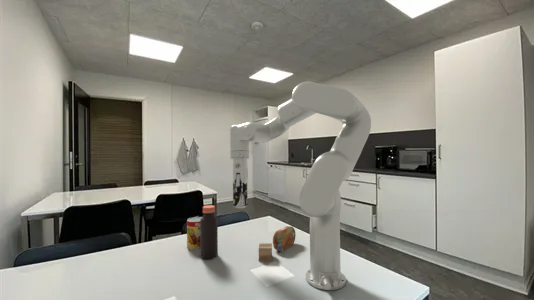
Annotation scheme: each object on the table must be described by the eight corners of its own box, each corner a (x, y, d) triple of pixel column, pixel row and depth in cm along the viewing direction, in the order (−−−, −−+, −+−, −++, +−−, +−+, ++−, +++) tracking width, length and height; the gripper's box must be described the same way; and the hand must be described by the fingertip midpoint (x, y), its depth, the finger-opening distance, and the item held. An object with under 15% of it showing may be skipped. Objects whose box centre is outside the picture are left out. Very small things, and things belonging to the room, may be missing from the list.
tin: (277, 254, 96) (277, 233, 96) (271, 252, 98) (271, 232, 98) (296, 243, 108) (296, 224, 108) (290, 241, 110) (290, 223, 110)
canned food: (200, 249, 102) (200, 221, 102) (183, 248, 103) (183, 221, 103) (207, 243, 110) (207, 217, 110) (192, 242, 111) (192, 216, 111)
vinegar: (219, 252, 98) (219, 204, 99) (214, 260, 91) (214, 208, 92) (204, 252, 99) (203, 204, 99) (197, 259, 92) (197, 208, 93)
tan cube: (271, 261, 90) (271, 248, 90) (258, 261, 90) (258, 248, 90) (272, 255, 95) (271, 243, 95) (259, 255, 95) (259, 243, 95)
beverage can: (245, 209, 91) (244, 178, 91) (231, 208, 92) (230, 178, 92) (249, 206, 96) (248, 177, 97) (236, 205, 97) (235, 177, 98)
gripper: (246, 155, 86) (247, 205, 86) (251, 155, 103) (251, 197, 102) (226, 155, 87) (227, 205, 86) (234, 155, 103) (234, 197, 102)
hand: (240, 200), depth 94 cm, fingers closed on beverage can, 3 cm apart
